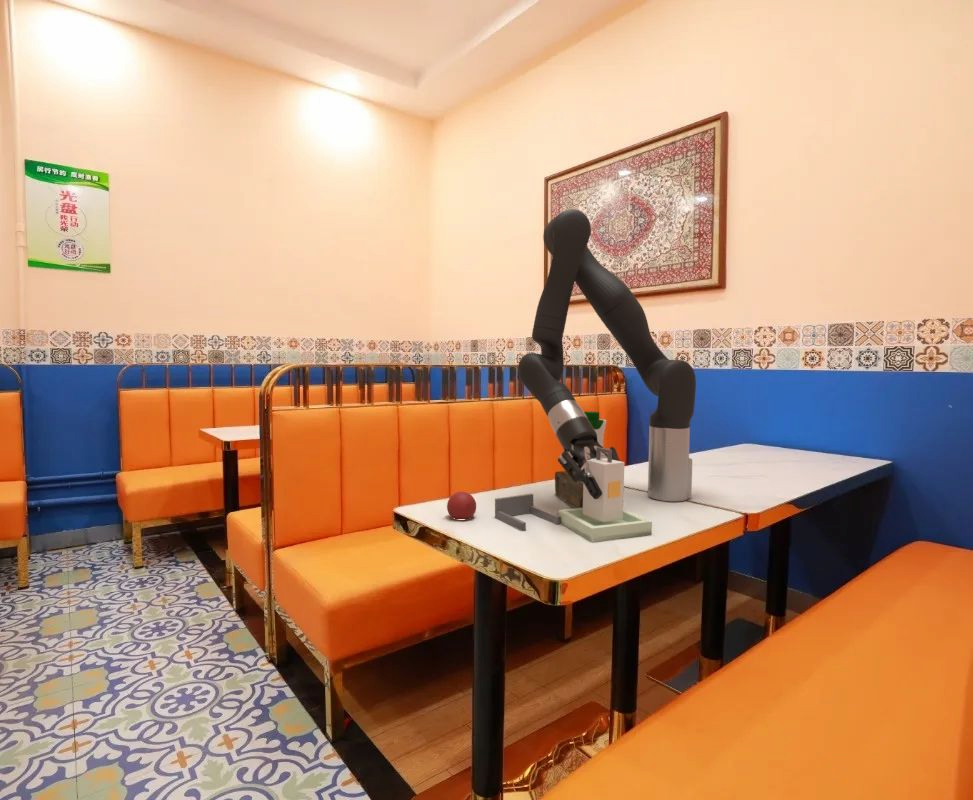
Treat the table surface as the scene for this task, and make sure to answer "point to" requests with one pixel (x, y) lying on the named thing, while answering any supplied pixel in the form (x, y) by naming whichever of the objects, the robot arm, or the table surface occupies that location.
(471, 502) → the fruit
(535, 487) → the table surface
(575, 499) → the beverage carton
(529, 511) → the bay
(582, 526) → the tray
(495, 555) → the table surface
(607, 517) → the white tall block
